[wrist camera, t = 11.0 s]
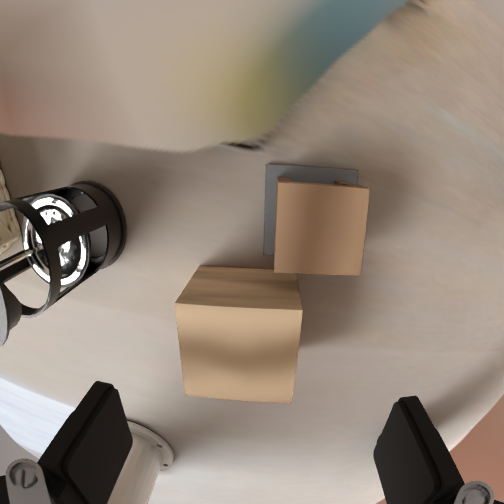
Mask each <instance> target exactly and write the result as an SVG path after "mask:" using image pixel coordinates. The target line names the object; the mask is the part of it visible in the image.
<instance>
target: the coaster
mask: <svg viewBox="0 0 504 504" xmlns="http://www.w3.org/2000/svg"><path fill="white" fill-rule="evenodd" d="M357 174H358V170H350V169H338V168H325V167H309V166H291V165H266V187H265V222H264V253H263V255H274V235H275V212H276V188H277V177H288V178H290V180H291V181H292V182H303V183H319V184H333V185H334V181H346V182H349V183H352V184H355V185H357Z"/></svg>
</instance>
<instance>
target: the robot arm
mask: <svg viewBox="0 0 504 504" xmlns="http://www.w3.org/2000/svg"><path fill="white" fill-rule="evenodd" d="M173 460H174V454H173V451H172V449H171V448H170V446H169V445H168V444H167V443H166V442H165V441H164V440H163V439H162V438H161V437H160V436H158V435H157V434H155V433H154V432H152V431H151V430H149V429H147V428H145V427H143V426H141V425H138V424H136V423H133V422H130V421H127V419H126V416H125V413H124V410H123V406H122V403H121V399H120V396H119V392H118V390H117V389H115V388H114V386H113V385H112V384H109V383H104V382H100V381H96V382H95V383H94V384H93V385H92V387H91V388H90V390H89V391H88V392H87V394H86V395H85V397H84V398H83V399H82V401H81V402H80V404H79V405H78V406H77V408H76V409H75V411H73V412H72V413H71V414H70V416H69V417H68V418H67V420H66V421H65V423H64V424H63V426H62V427H61V428H60V430H59V431H58V433H57V434H56V436H55V437H54V439H53V440H52V441H51V443H50V444H49V446H48V447H47V449H46V450H45V452H44V453H43V455H42V456H41V458H40V459H39V461H38V462H37V463H36V462H35V461H33V460H30V459H18V460H15V461H14V462H12V463H11V464H10V465H9V466H8V468H7V470H6V475H4V476H0V504H148V501H149V498H150V495H151V492H152V489H153V487H154V484H155V481H156V478H157V475H158V472H159V471H162V470H165V469H167V468H169V467H170V466H171V465H172V463H173ZM374 460H375V464H376V467H377V471H378V474H379V477H380V481H381V484H382V488H383V491H384V495H385V499H386V502H387V504H504V503H503V502H499V501H496V500H494V494H493V491H492V489H491V487H490V486H488V485H487V484H486V483H483V482H481V481H471V482H468V483H466V484H464V481H463V479H462V477H461V475H460V473H459V471H458V469H457V467H456V465H455V463H454V461H453V459H452V457H451V455H450V453H449V451H448V449H447V447H446V445H445V443H444V442H443V440H442V438H441V436H440V434H439V432H438V431H437V429H435V427H434V425H433V424H432V422H431V420H430V418H429V416H428V414H427V413H426V411H425V409H424V407H423V405H422V404H421V402H420V400H419V398H418V397H417V396H409V397H402V398H400V399H399V400H398V402H395V403H394V405H393V408H392V410H391V413H390V415H389V417H388V420H387V422H386V425H385V427H384V429H383V432H382V434H381V436H380V438H379V440H378V443H377V445H376V447H375V449H374Z"/></svg>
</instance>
